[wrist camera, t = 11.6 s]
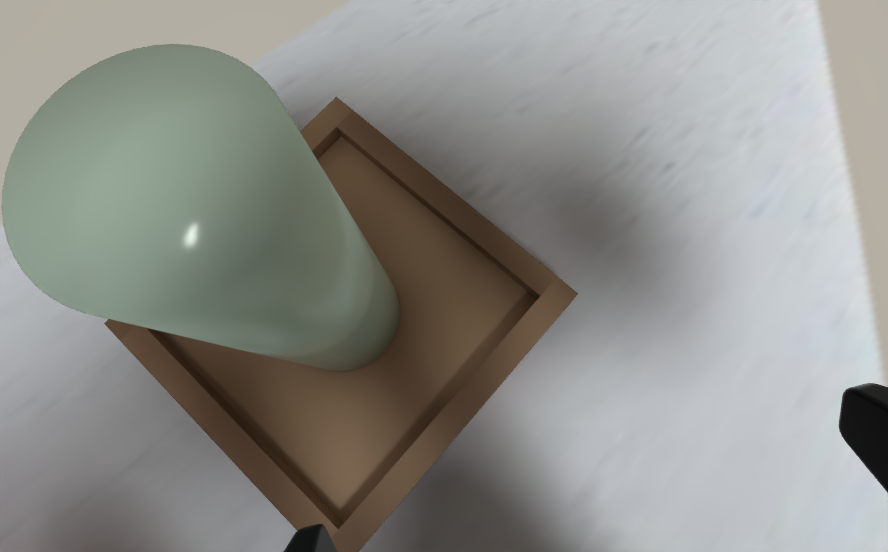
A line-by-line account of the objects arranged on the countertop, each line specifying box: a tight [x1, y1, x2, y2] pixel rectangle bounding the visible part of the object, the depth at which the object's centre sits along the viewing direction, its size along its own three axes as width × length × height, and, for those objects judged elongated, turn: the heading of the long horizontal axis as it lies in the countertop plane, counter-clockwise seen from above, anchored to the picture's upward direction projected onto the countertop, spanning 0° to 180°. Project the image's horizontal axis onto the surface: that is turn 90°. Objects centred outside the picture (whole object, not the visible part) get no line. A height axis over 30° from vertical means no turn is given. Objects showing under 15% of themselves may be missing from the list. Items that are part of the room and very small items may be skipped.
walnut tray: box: [104, 97, 578, 552], centre depth 20 cm, size 13×13×2 cm
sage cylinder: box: [2, 44, 400, 372], centre depth 14 cm, size 5×5×12 cm
